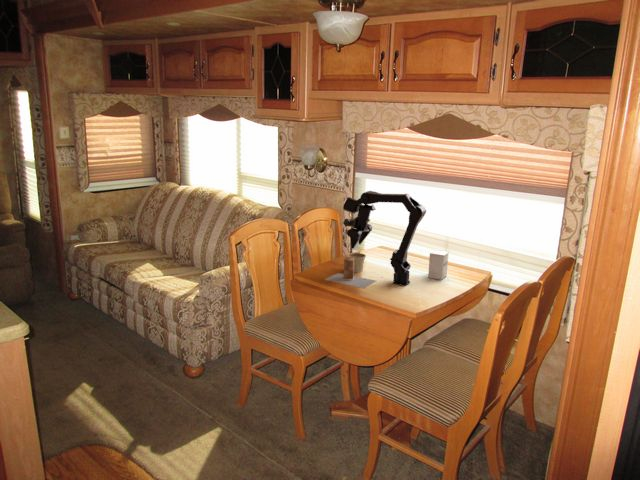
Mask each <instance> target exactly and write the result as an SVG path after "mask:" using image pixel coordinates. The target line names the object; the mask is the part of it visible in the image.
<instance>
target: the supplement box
mask: <svg viewBox="0 0 640 480" xmlns="http://www.w3.org/2000/svg"><path fill="white" fill-rule="evenodd" d="M428 262H429V263H428V273H427V275H428V276H427V277H428V278H430V279H434V280H441V281H442V280H443V279H445V278H446V277H447V275H448V265H449V264H448V263H449V252H448V251H442V250H433V251H432V252H430V253H429V261H428Z"/></svg>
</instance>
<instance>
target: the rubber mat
mask: <svg viewBox="0 0 640 480" xmlns="http://www.w3.org/2000/svg"><path fill="white" fill-rule="evenodd" d="M324 281H327V282H333V283H336V284H342V285H347V286H351V287H356V288H360V289H365V288H367V287H369V286H370V285H372V284H374V283H376V282H377V280H374V279H370V278H364V277H361V276H355V275H354V279H353V280H344V273H342V272H341V273H340V272H337V273H334V274H333V275H331V276H329V277H327V278H325V279H324Z"/></svg>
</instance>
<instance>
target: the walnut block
mask: <svg viewBox="0 0 640 480" xmlns="http://www.w3.org/2000/svg"><path fill="white" fill-rule="evenodd" d="M354 260H355V258H348V256H347V257H345V258H344V259H343V274H344V280H353V279H354V276H355V272H354Z"/></svg>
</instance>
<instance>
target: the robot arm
mask: <svg viewBox="0 0 640 480" xmlns="http://www.w3.org/2000/svg"><path fill="white" fill-rule="evenodd" d="M378 203H391V204H392V203H397V204H399V203H400V204H401V203H402V205H403V206H404V207H405V209H406V211H407V212H408V213H409V216H408V224H407V227H406V229H405V232H404V235H403V237H402V240H401V242H400V245H399V247H398V249H395V250H394V251H393V252H392V255H391V258H390V259H389V260H390V265H391V267H392V268H393V270H394V273H393V281H392V284H394V285H397V286H398V285H400V286H404V287H406V286H407V285H409V284H410V283H411V281H410V269H411V267H412V266H411V264H410V262H408V250H409V248H410V245H411V243H412V241H413V238H414V235H415V233H416V231H417V227H418V226H419V224H420V223H421V221H422V220H423V218H424V217H425V215H426V213H427V209H426V207H425V206H424V205H423V204H420V202H418V201H417V200H416V199H415V198H413V197H412V196H411V195H410V194H409V193H381V192H377V191H373V190H368V191H365V192H363V193H361V195H360V197H359V198H358V199H355V198H353V197H346V200H345V202H344V204H343V207H342V208H343V211H345V212H348V213H352V214H356V213H357V215H356V217H354V218H345V219H344V220H343V223H342V224H343V225H344V227H345V228H346V227H352V228H349V229H348V230H347V231H346V235H347V236H348V237H349V239H350V249H355V247H356V245H357V244H358V245H361V244H362V243H363V242H364V240H365V239H366V238H367V237H368V235H369V234H370V233H371V232H372V230H373V225H372V224H370V223H369V222H370V221H371V219H370V215H371V212H374V211H375V210H377V209H376V207H375V205H374V204H378Z"/></svg>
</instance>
